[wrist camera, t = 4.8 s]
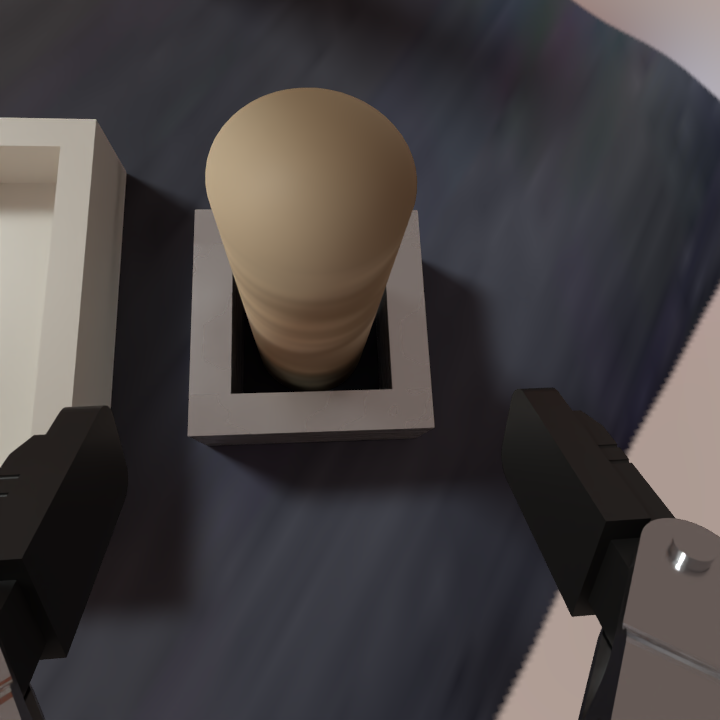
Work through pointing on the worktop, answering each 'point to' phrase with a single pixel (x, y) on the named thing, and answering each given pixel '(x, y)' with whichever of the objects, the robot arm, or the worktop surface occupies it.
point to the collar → (304, 409)
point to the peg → (310, 225)
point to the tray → (56, 271)
